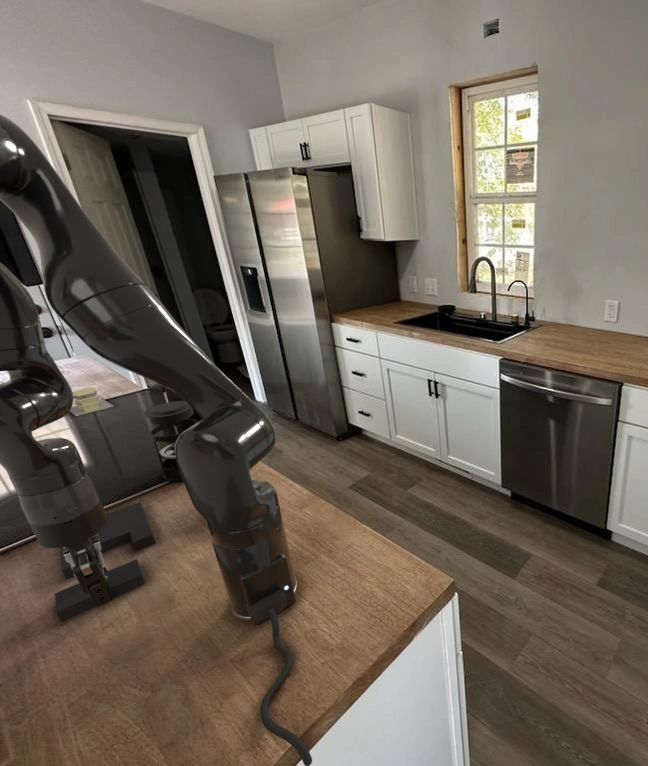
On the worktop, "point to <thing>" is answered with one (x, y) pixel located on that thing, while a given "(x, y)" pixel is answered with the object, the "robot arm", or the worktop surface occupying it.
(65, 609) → the black pad
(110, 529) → the charcoal u-shaped block
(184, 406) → the french press
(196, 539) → the worktop surface
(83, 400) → the stacked layers on plate
